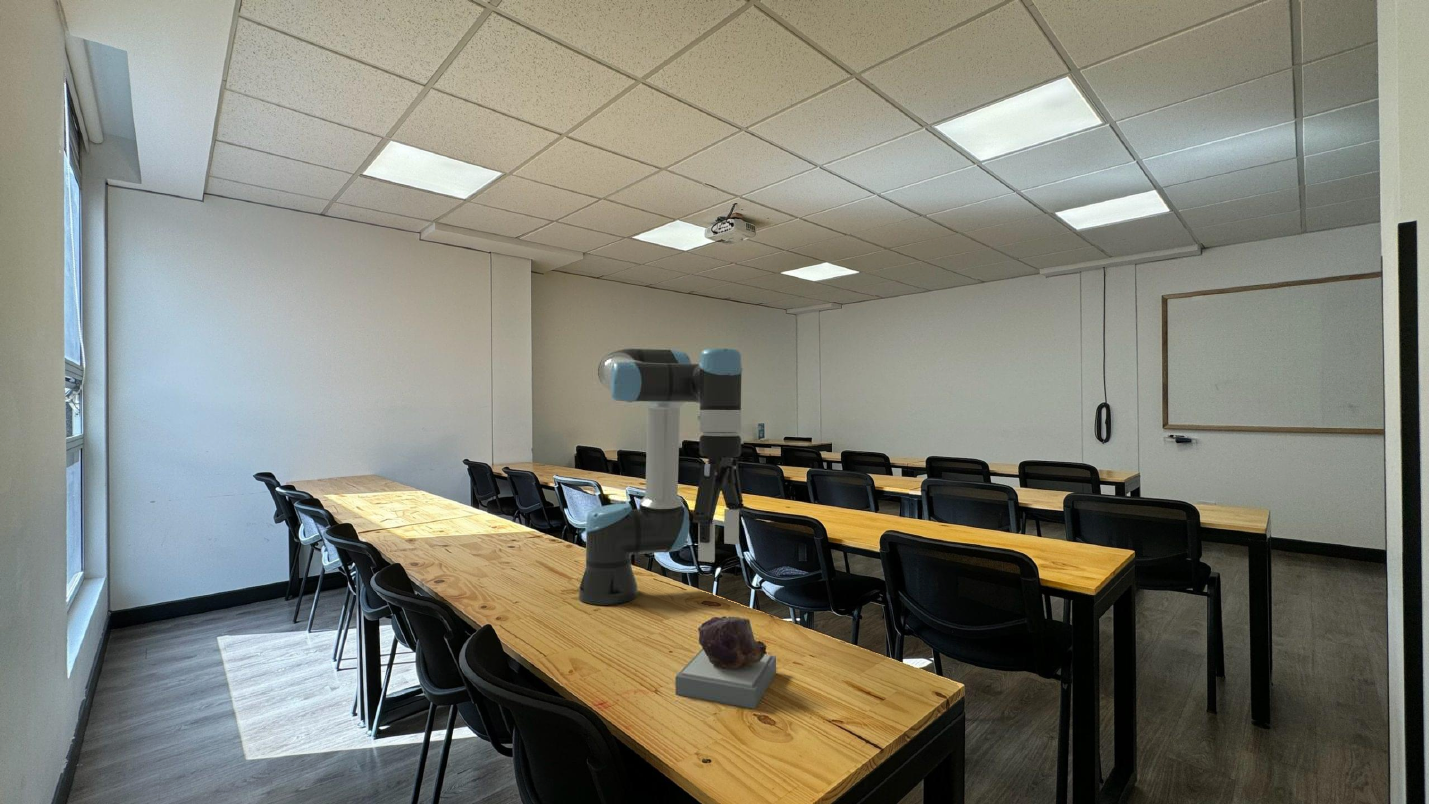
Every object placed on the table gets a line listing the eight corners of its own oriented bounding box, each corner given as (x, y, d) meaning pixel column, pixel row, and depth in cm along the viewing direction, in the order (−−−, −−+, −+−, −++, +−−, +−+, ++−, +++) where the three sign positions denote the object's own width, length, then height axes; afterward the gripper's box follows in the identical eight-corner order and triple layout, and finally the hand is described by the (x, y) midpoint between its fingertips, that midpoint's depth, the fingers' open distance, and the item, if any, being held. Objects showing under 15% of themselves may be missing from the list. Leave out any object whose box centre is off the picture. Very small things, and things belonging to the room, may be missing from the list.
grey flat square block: (705, 661, 111) (705, 643, 111) (776, 672, 106) (776, 653, 106) (675, 694, 97) (675, 674, 97) (754, 709, 93) (754, 687, 93)
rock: (724, 654, 108) (686, 670, 101) (719, 607, 110) (681, 619, 102) (773, 662, 101) (736, 680, 93) (768, 612, 102) (730, 625, 94)
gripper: (723, 431, 117) (722, 535, 117) (673, 436, 94) (672, 567, 93) (758, 432, 114) (758, 538, 114) (716, 437, 91) (715, 572, 91)
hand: (719, 552), depth 104 cm, fingers open, 13 cm apart
